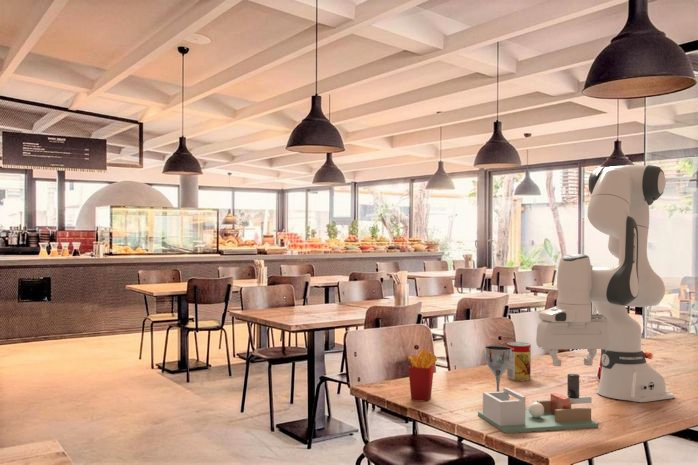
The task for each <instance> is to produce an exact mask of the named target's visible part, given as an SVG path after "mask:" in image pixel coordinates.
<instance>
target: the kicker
mask: <svg viewBox="0 0 698 465" xmlns="http://www.w3.org/2000/svg"><path fill="white" fill-rule="evenodd" d="M566 385H567V389H566V390H567V391H566V392H567V393H566V394H567V396H564V395H562V394H560V393H557V392H556V393H550V400H551V412H552V413H554V414H555V410H556V409H570V404H571V405H580V404H592V396H590V395H580V375H579V374H578V373H568V374H567V384H566Z"/></svg>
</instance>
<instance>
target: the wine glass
mask: <svg viewBox="0 0 698 465" xmlns="http://www.w3.org/2000/svg"><path fill="white" fill-rule="evenodd" d="M511 353H512V349H511V347H507V345H498V344H497V345H496V344H495V345H493V344H492V345H491V344H490V345H486V346H485V347H484V356H485V362H486V365H487V367H488V368H489V370H490V371H491V372H492V373H493V375H494V378H495V381H496V391H495V392H500V384H501V383H500V382H501V378H502V375H503V374H504V373H505V372H507V369H508V367H509V365H510V362H511ZM510 398H511V395H509V399H510Z"/></svg>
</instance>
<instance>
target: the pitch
mask: <svg viewBox="0 0 698 465" xmlns="http://www.w3.org/2000/svg"><path fill="white" fill-rule="evenodd" d="M509 396H510V397H511V396H512V397H514V398H516V399H512V400H510V398H509ZM536 402H538V403H540V404H542V405H543V407H544V414H543V415H542V416H541V417H539V418H535V417H533V416H531V415H530V413H529V408H526V396H525V395H523V394H521V393H518V392H517V391H515V390H512V389H511V388H509V387H503V390H502V391H499V392H496V391H486V392H485V391H484V392H482V411H478V412H477V416H479V417H480V418H481V419H483V420H484V421H486V422H487V423H489V424H491V425H492V426H493V427H495V428H496V429H497V430H499V431H501V432H503V433H504V432H505V433H504V434H506V433H507V434H517V433H518V434H519V432H521V433H532V431H536V432H545V431H546V430H550V431H560V430H561V429H565V430H578V429H579V430H580V429H591V428H599V423H598V422H596V421H594V420H593V419H592V408H591V407H575V408H574V407H573V408H572V404H570V409H556V410H555V414H554V413H552V412H551V399H547V400H546V399H542V400H536ZM561 431H562V430H561ZM546 432H547V431H546Z"/></svg>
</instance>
